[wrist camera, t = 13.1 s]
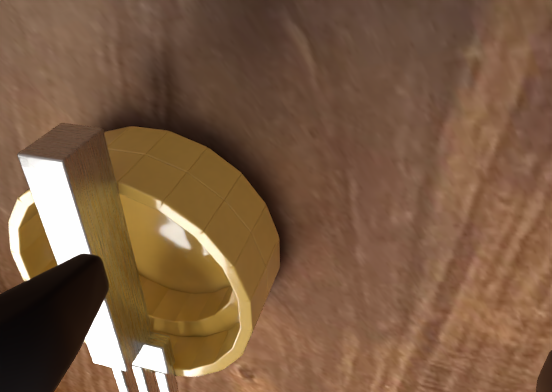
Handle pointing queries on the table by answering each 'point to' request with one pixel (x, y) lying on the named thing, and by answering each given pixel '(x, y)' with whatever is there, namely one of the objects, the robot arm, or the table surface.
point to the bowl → (180, 244)
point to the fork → (98, 250)
